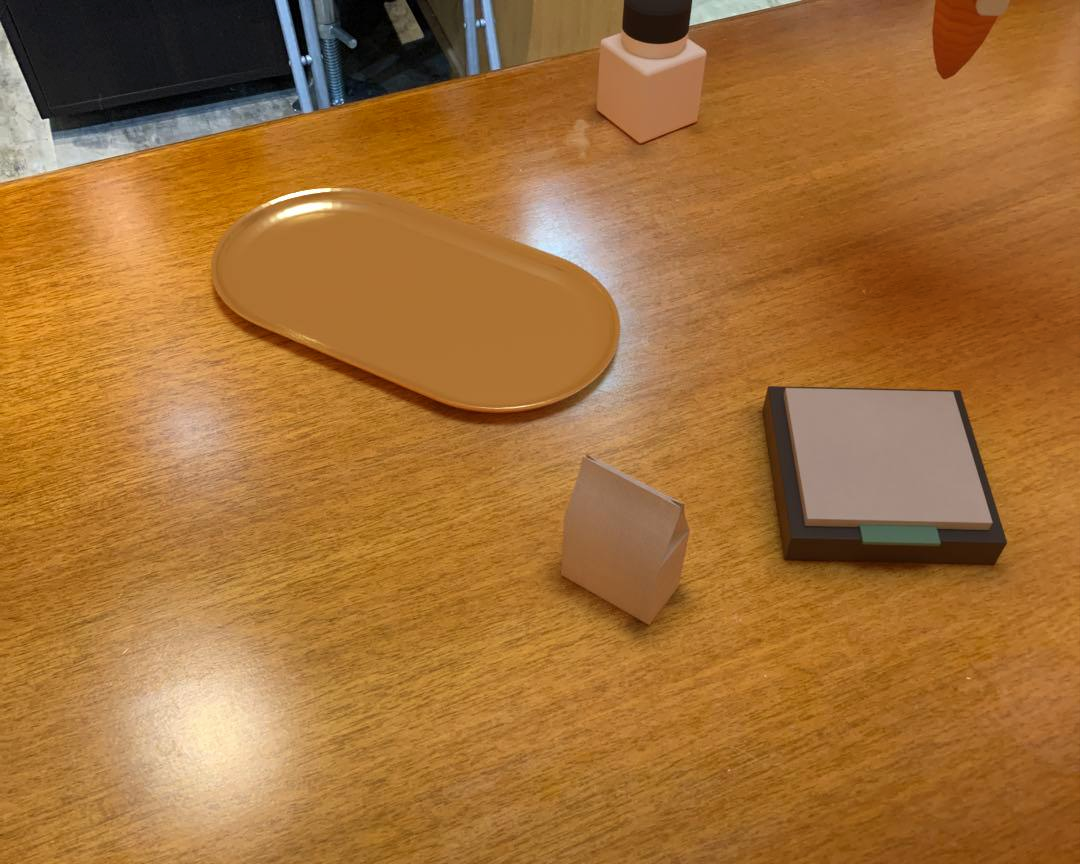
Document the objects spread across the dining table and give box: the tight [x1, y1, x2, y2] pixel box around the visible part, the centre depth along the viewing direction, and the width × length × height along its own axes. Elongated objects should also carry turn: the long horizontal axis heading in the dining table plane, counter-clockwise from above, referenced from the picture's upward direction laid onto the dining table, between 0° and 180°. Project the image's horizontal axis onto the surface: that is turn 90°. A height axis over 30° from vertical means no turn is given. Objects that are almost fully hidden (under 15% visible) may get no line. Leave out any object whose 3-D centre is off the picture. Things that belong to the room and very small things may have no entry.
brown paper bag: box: [560, 453, 691, 626], centre depth 67 cm, size 4×7×10 cm, turn 55°
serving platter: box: [210, 187, 621, 414], centre depth 87 cm, size 19×35×2 cm, turn 61°
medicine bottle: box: [596, 0, 708, 144], centre depth 100 cm, size 7×7×12 cm
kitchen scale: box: [762, 385, 1008, 565], centre depth 75 cm, size 14×14×3 cm
